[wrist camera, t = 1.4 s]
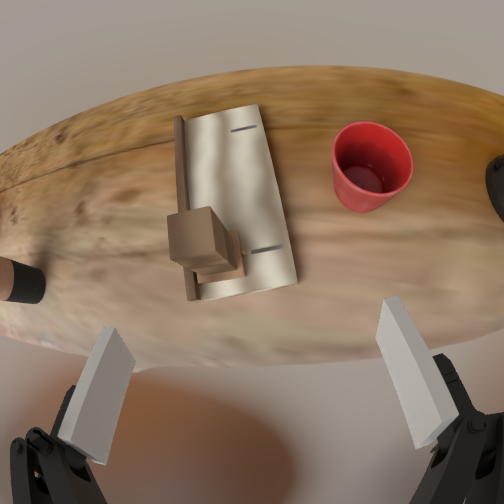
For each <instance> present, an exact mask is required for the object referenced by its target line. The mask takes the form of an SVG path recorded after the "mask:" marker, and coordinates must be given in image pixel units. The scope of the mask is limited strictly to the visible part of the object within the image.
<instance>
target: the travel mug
mask: <svg viewBox="0 0 504 504" xmlns="http://www.w3.org/2000/svg"><path fill="white" fill-rule="evenodd" d="M44 292H45V278H44V275H43V273H42V272H41V271H40V270H39V269H37V268H34V267H31V266H28V265H25V264H22V263H19V262H16V261H13V260H10V259H7V258H4V257H1V256H0V300H2V301H10V302H19V303H29V304H37V303H39V302H40V301H41V299H42V298H43V295H44Z"/></svg>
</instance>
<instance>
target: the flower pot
mask: <svg viewBox="0 0 504 504" xmlns="http://www.w3.org/2000/svg"><path fill="white" fill-rule="evenodd" d="M332 167H333V178H334V188H335V193H336V195H337V197H338V199H339V200H340V202H341V203H342V204H343V205H344V206H346V207H347V208H349V209H351V210H353V211H356V212H369V211H372V210H374V209H376V208H377V207H379V206H381V205H382V204H384V203H385V202H387V201H388V200H390V199H391V198H393V197H394V196H395V195H397V194H398V193H399V192H401V191H402V190H403V189H404V188H405V187H406V186H407V185H408V184H409V182H410V180H411V178H412V175H413V170H414V164H413V158H412V154H411V152H410V150H409V148H408V146H407V144H406V143H405V142H404V140H403V139H402V138H401V137H400V136H399V135H398V134H397V133H395V132H394V131H393V130H391V129H389V128H388V127H386V126H384V125H381V124H378V123H375V122H368V121H360V122H354V123H351V124H349V125H347V126H345V127H344V128H343V129H341V130H340V131H339V133H338V134H337V135H336V137H335V139H334V142H333V145H332Z"/></svg>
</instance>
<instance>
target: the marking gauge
mask: <svg viewBox="0 0 504 504" xmlns="http://www.w3.org/2000/svg"><path fill="white" fill-rule="evenodd" d="M167 224H168V238H169V250H170V260H172V261H174V262H176V263H178V264H180V265H182V266H184V267H186V268H188V269H190V270H192V271H194V272H196V273H197V280H198V283H199V284H201V285H202V284H208V283H213V282H219V281H225V280H230V279H236V278H241V277H246V275H245V269H244V263H243V257H242V255H243V256H246V255H247V253H246V251H245V250H244V249H241V244H240V238H239V232H238V231H237V229H236V230H231V231H227V229H226V228H225V227H224V225H223V224H222V222H221V221H220V219H219V218H218V217H217V215H216V214H215V212H214V211H213V209H212V208H211V207H210V206H206V207H202V208H197V209H193V210H189V211H185V212H181V213H176V214H172V215H168V216H167Z"/></svg>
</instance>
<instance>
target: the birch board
mask: <svg viewBox="0 0 504 504" xmlns="http://www.w3.org/2000/svg"><path fill="white" fill-rule="evenodd" d="M174 136H175V166H176V185H177V201H178V213H181V212H185V211H189V210H193V209H197V208H202V207H206V206H210V207H211V208H212V209H213V211H214V212H215V214H216V215H217V217H218V218H219V219H220V221H221V222H222V224H223V225H224V227H225V228H226V229H227V231H231V230H236V229H237V231H238V232H239V238H240V244H241V249H244V250H245V251H246V253H247V255H246V256H243V255H242V257H243V263H244V269H245V275H246V277H241V278H236V279H230V280H225V281H219V282H213V283H208V284H202V285H201V284H199V283H198V280H197V273H196V272H194V271H192V270H190V269H188V268H186V267H184V266H183V268H184V277H185V285H186V293H187V300H188V301H194V302H201V301H207V300H213V299H219V298H225V297H231V296H237V295H243V294H249V293H254V292H260V291H266V290H271V289H276V288H282V287H287V286H292V285H297V284H298V281H297V276H296V271H295V265H294V260H293V255H292V251H291V246H290V241H289V236H288V231H287V226H286V222H285V217H284V213H283V208H282V203H281V199H280V194H279V190H278V186H277V181H276V177H275V173H274V168H273V164H272V160H271V156H270V152H269V148H268V143H267V139H266V135H265V131H264V127H263V123H262V120H261V116H260V112H259V108H258V104H254V105H249V106H244V107H239V108H234V109H230V110H225V111H221V112H217V113H213V114H209V115H205V116H201V117H198V118H194V119H190V120H187V121H184V120H183V118H182V116H181V115H179V116H176V117H174Z"/></svg>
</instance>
